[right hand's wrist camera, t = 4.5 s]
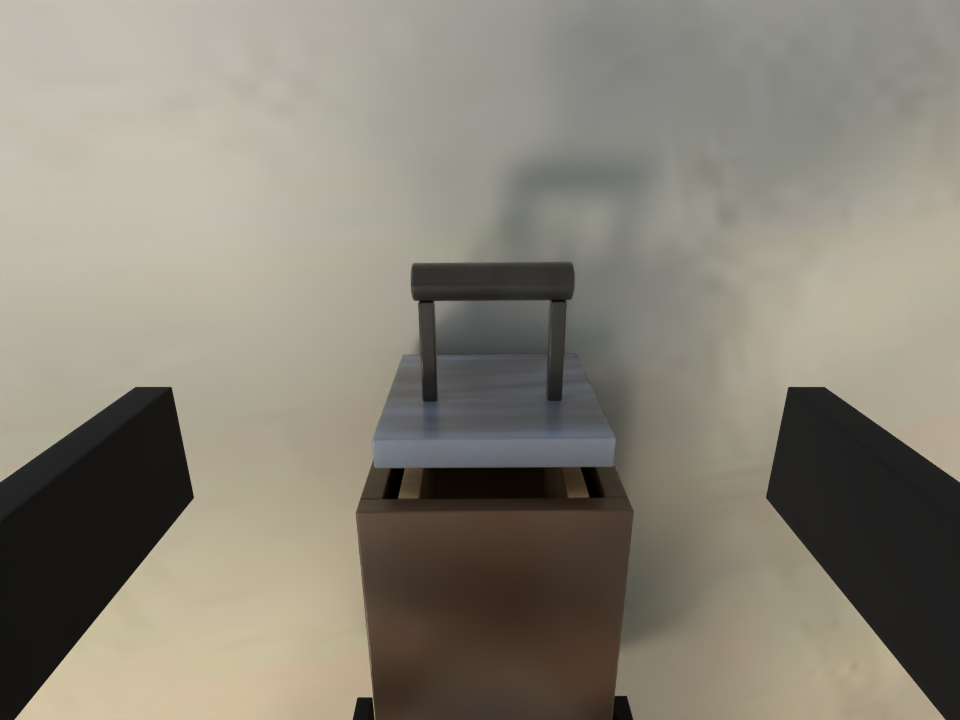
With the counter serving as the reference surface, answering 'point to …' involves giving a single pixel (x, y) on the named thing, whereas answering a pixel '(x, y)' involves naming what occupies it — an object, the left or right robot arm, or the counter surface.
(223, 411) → the counter surface
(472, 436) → the drawer
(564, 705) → the cabinet
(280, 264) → the counter surface
